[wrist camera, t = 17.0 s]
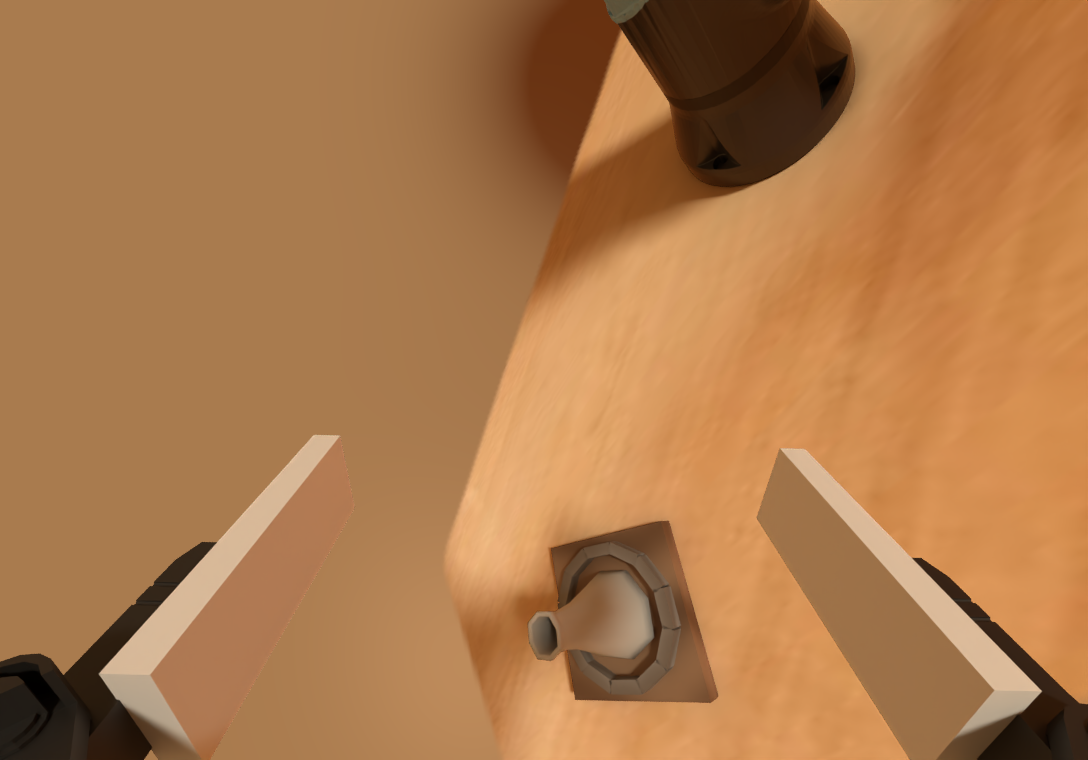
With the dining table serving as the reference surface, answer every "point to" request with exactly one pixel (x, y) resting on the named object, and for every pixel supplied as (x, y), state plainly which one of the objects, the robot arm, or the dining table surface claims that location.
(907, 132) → the dining table surface
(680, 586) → the walnut seat board
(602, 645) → the flask
